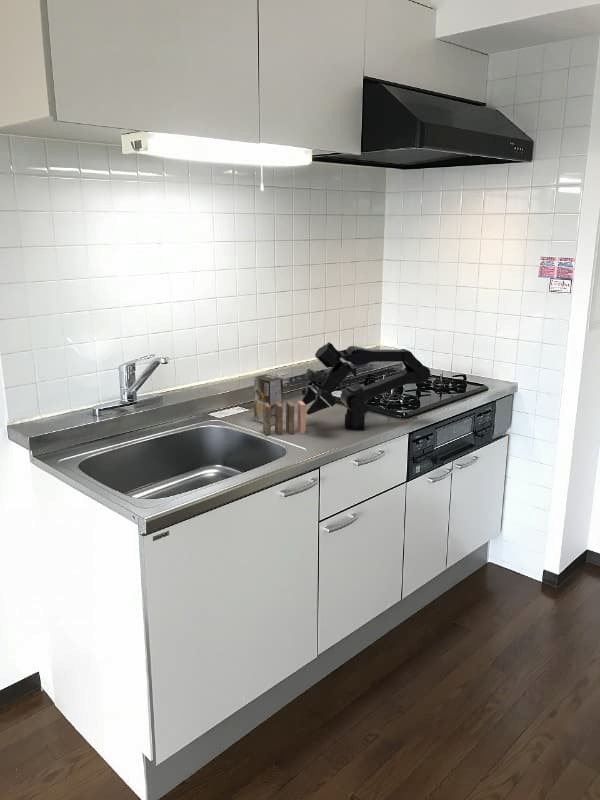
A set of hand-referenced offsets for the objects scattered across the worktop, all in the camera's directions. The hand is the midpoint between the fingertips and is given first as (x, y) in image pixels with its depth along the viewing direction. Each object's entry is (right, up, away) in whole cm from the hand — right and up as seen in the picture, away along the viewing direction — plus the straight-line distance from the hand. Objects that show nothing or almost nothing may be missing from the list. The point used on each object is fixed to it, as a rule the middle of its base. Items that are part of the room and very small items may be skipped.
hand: (303, 410), depth 223 cm
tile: (-1, -7, +2) cm, 7 cm away
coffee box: (-13, -4, +12) cm, 18 cm away
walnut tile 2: (-5, -7, +1) cm, 9 cm away
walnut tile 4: (-12, -8, -1) cm, 15 cm away
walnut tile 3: (-9, -8, 0) cm, 11 cm away
